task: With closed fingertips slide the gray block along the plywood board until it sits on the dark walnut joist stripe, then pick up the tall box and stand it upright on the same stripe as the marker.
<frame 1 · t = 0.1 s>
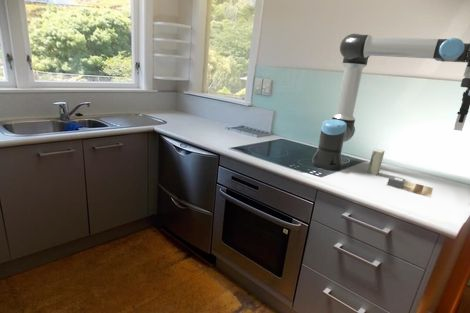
hand: (457, 128, 126), 28 cm above the countertop, fingers open, 13 cm apart
box: (372, 175, 143), on the countertop
board: (408, 189, 129), on the countertop
gray block: (395, 185, 128), point 1 cm above the countertop, touching board
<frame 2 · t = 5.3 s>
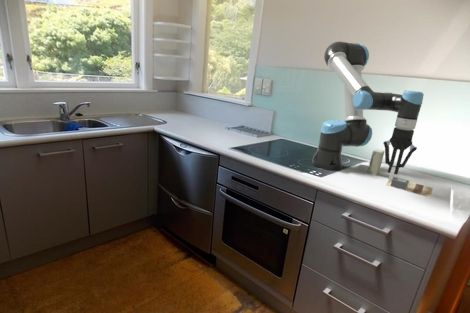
hand: (390, 180, 129), 3 cm above the countertop, fingers closed
gray block: (398, 186, 127), point 1 cm above the countertop, touching board, gripper
everything else where it was.
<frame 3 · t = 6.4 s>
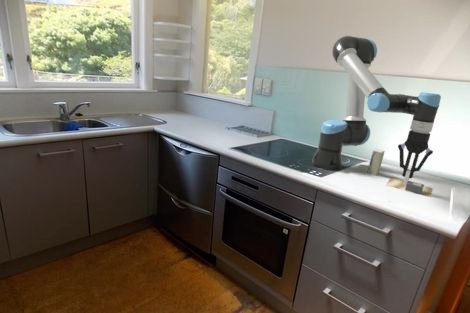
hand: (405, 184, 126), 3 cm above the countertop, fingers closed
gray block: (413, 190, 124), point 1 cm above the countertop, touching gripper
everything else where it was.
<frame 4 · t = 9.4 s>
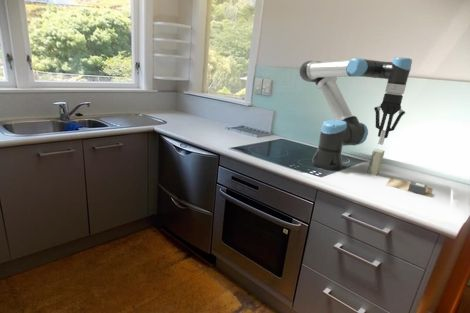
hand: (380, 143, 137), 16 cm above the countertop, fingers closed
gray block: (416, 191, 124), point 1 cm above the countertop, touching board
everything else where it was.
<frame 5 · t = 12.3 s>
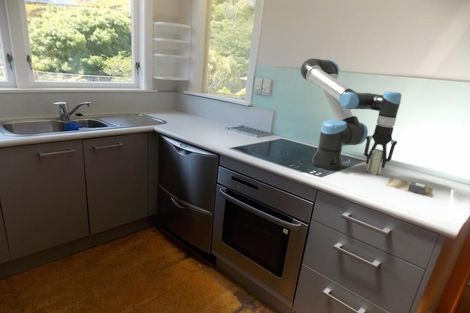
hand: (373, 172, 142), 2 cm above the countertop, fingers closed on box, 4 cm apart
box: (372, 175, 143), on the countertop, touching gripper
everything else where it was.
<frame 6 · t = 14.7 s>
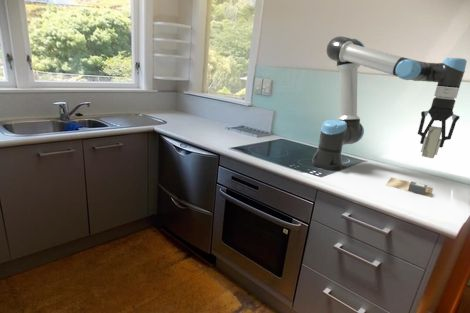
hand: (428, 152, 124), 17 cm above the countertop, fingers closed on box, 4 cm apart
box: (427, 156, 125), point 15 cm above the countertop, touching gripper
everything else where it was.
when the fingers open (4 cm above the countertop, at t = 17.3 s): box drops 1 cm, resting on board.
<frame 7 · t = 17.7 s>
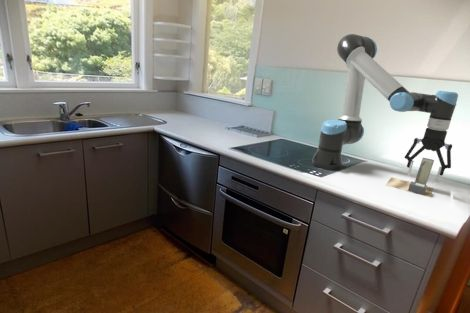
hand: (421, 178, 128), 5 cm above the countertop, fingers open, 10 cm apart
box: (419, 187, 129), point 1 cm above the countertop, touching board
everything else where it was.
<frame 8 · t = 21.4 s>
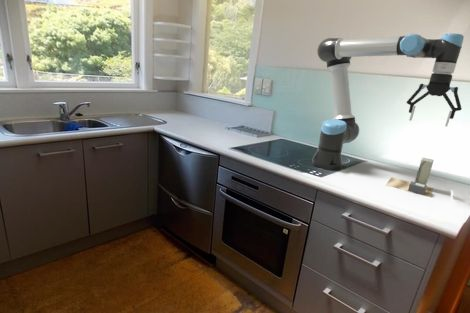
hand: (427, 123, 128), 29 cm above the countertop, fingers open, 13 cm apart
nothing on the countertop moved.
at the end: gray block inside the target area on the board (3.9 cm from its centre), point 1.2 cm above the board's base; box inside the target area on the board (3.4 cm from its centre), point 1.0 cm above the board's base; box tilted 0° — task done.
